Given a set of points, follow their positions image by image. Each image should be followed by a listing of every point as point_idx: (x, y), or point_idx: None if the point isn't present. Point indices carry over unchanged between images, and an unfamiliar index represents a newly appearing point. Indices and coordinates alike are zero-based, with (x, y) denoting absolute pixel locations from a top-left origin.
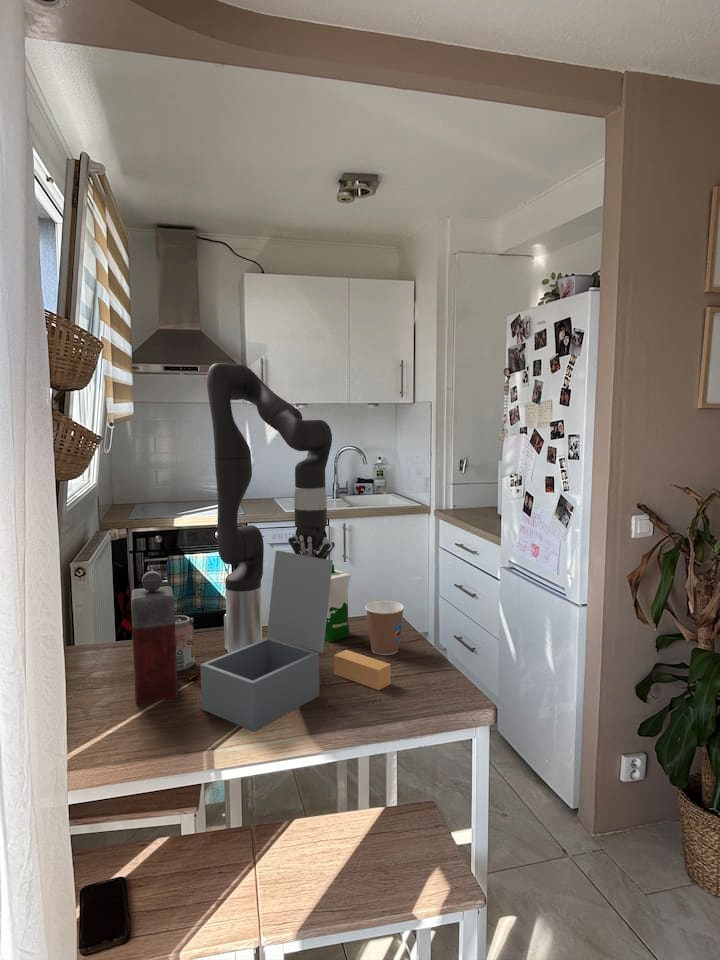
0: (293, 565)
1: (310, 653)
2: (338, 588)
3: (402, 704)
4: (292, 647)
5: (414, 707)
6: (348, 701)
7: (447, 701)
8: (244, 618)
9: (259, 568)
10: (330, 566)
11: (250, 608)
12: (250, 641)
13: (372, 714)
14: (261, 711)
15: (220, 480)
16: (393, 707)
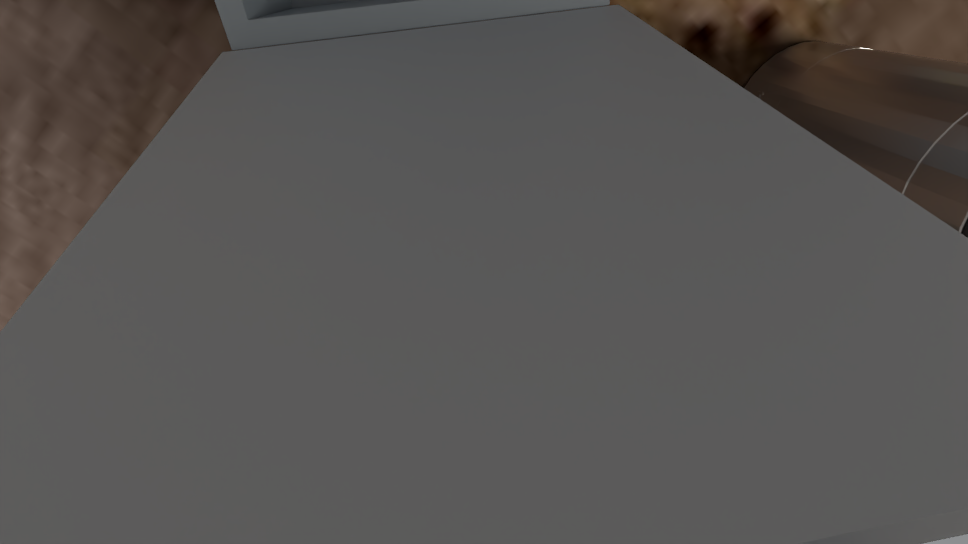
0: (656, 351)
1: (265, 18)
2: None
3: (55, 191)
4: (400, 3)
5: (12, 203)
6: (178, 75)
7: (9, 297)
8: (874, 104)
9: None
10: None
11: (891, 146)
12: (775, 102)
13: (23, 60)
14: None
15: None
16: (46, 155)
